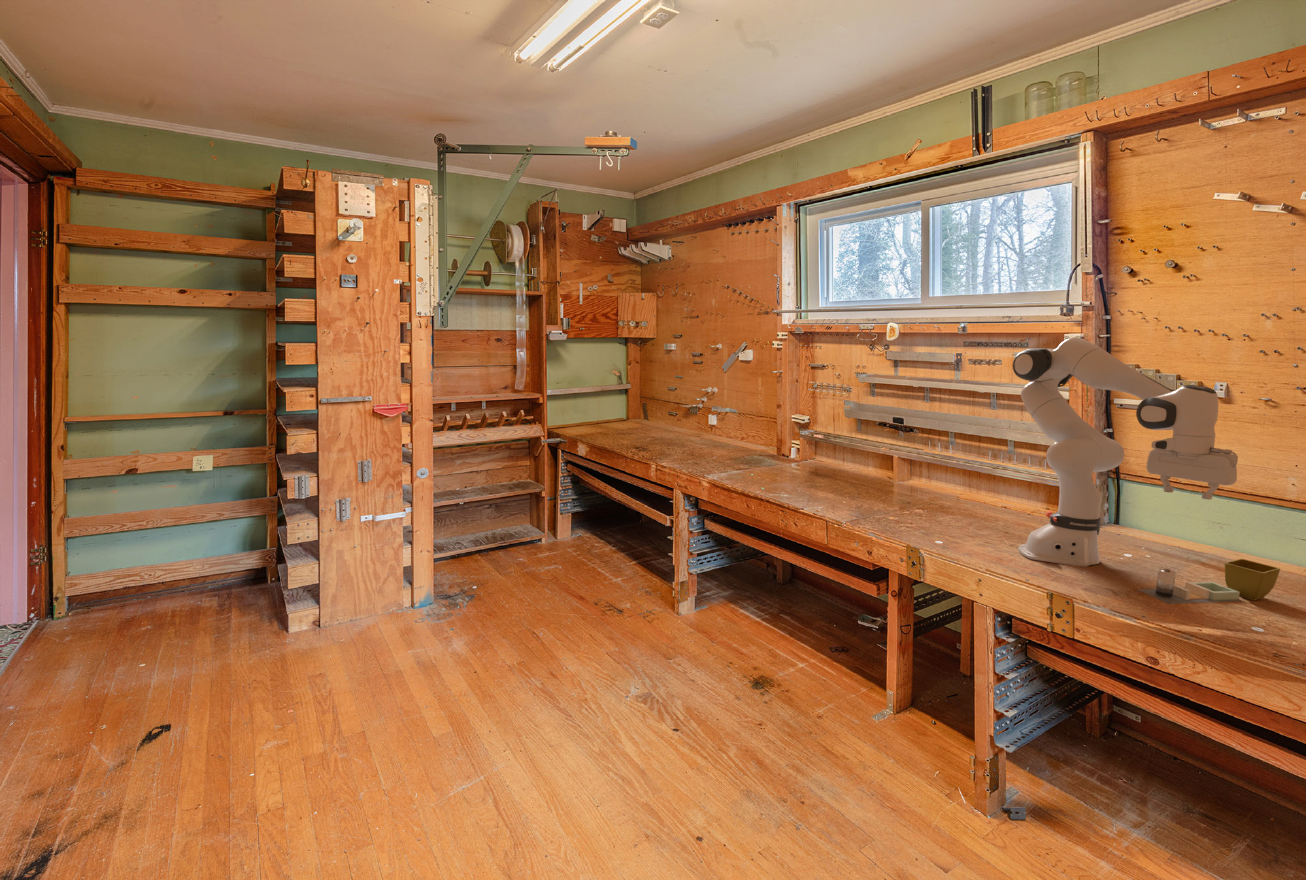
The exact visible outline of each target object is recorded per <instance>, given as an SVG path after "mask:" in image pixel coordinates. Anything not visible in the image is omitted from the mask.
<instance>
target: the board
mask: <svg viewBox="0 0 1306 880" xmlns="http://www.w3.org/2000/svg"><path fill="white" fill-rule="evenodd" d="M1136 591H1138V592H1141V593H1144V594H1145V595H1148V596H1149V597H1152V598H1153V599H1154V598H1155V599H1157V600H1158V601H1162V602H1163V603H1166V604H1167V605H1176V604H1177V605H1179V604H1203V603H1206V604H1207V603H1229V602H1231V603H1232V602H1234V603H1235V602H1243V600H1241V599H1240V598H1239V599H1232V600H1212V599H1189V600H1185V599H1183V598H1180V597H1178V596H1176V595H1173V596H1172V598H1170V599H1168V598H1162V597H1159V596H1156V595H1155V592H1156V588H1142V589H1141V588H1140V589H1139V588H1137V589H1136ZM1212 591H1213V590H1212Z"/></svg>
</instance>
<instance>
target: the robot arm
mask: <svg viewBox="0 0 1306 880" xmlns="http://www.w3.org/2000/svg"><path fill="white" fill-rule="evenodd" d="M1012 361H1013V362H1012V370H1013V373H1014V375H1015V376H1016V377H1018V378H1020V379H1022V380H1024V381H1028V383H1027V384H1026V385H1024V386H1023V388H1022V389H1021V391H1020V398H1021V401H1022V403H1023V405H1024V407H1025V409H1026V410H1027V411H1028V414H1029V415H1030V416H1031V419H1033V421H1034V422H1035V423H1036V425H1037V427H1039V429H1040V430H1041V432H1043V434H1044V435H1045V436H1046V437H1047V438H1048V439H1050V440H1052V441H1055V442H1054V443H1052V444H1050V446H1049V447H1048V448H1047V450H1046V454H1045V455H1046V457H1045V459H1046V462H1047V465H1048V466H1049V467H1050V469H1052V471H1054V473H1055V475H1056V477H1057V480H1058V486H1059V495H1058V496H1059V498H1058V509H1057V511H1056V512H1054V513H1053V512H1052V511H1050V510H1049V511H1048V510H1047V512H1046V513H1045V516H1046V517H1047V519H1049V523H1047V524H1045V525H1042V526H1041V527H1038V528H1037V529H1034V530H1032V531H1031V532H1030V533H1029V535H1028V538H1027V540H1026V543H1024V544H1023V543H1022V544H1020V545H1019V546H1018V548H1017V549H1018V552H1019V553H1020V554H1021V555H1022V556H1024V557H1025V558H1028V559H1030V560H1033V561H1039V562H1049V563H1054V564H1060V565H1061V564H1062V565H1068V566H1069V565H1070V566H1075V567H1088V566H1092V565H1093V566H1094V565H1098V564H1100V563H1101V558H1100V553H1099V539H1098V536H1099V534H1100V530H1101V517H1100V513H1101V505H1102V497H1103V496H1102V493H1101V490H1099V489H1098V488H1097V487H1096V486H1095V482H1094V479H1093V476H1094V475H1093V474H1094V473H1101V472H1107V471H1110V470H1112V469H1115V468H1118V467H1119V466H1120V465H1121V464H1122V463H1123V462H1124V459H1125V450H1124V448H1123V446H1122V445H1121V443H1120V442H1118V441H1116V440H1115V439H1112V438H1110V437H1107V435H1104V434H1103V433H1101V432H1100V431H1099V430H1097V429H1096V428H1095V427H1093V426H1092V425H1090V424H1089V423H1088V422H1086V421H1085V420H1084V419H1083V418H1082V417H1081V416H1080V415H1079V414H1078V413H1077V412H1076V411H1075V410H1074V408H1073V407H1072V406H1071V405H1070V403H1069V402H1068V401H1067V400H1066V399H1065V397H1064V396H1063V395H1062V394H1061V392H1060V391H1059V389H1058V388H1061V387H1064V386H1065V385H1066V384H1067V383H1068V381H1069V380H1071V379H1072V378H1075V379H1076V380H1078V381H1079V382H1081V383H1082V384H1084V385H1087V386H1088V387H1091V388H1093V389H1098V390H1106V391H1116V392H1121V393H1126V394H1130V395H1132V396H1135V397H1136V398H1138V399H1140V400H1141V402H1139V404H1138V405H1137V408H1136V412H1135V415H1136V420H1137V421H1138V423H1139V424H1140V426H1142V427H1143V428H1145V429H1148V430H1153V431H1170V430H1171V431H1172V436H1171V437H1169V438H1168V437H1167V438H1165V439H1159V440H1153V441H1152V442H1151V448H1152V449H1151V450H1150V451H1149V454H1148V456H1147V457H1148V458H1147V462H1146V470H1147V472H1148V473H1149V474H1152V475H1156V476H1157V475H1158V476H1160V477H1159V479H1160V482H1161V484H1162V485H1163V492H1164V493H1169V494H1170V493H1174V488H1175V487H1174V486H1173V485H1171V483H1170V480H1171V478H1175V479H1176V478H1177V479H1184V480H1190V481H1195V482H1202V483H1207V487H1208V489H1207V490H1206V491H1203V492H1201V494H1202V496H1201V499H1202V500H1209V501H1210V500H1213V494H1214V493H1215V491H1216V490H1218V489H1219V486H1220V485H1221V486H1232V485H1234V484H1235V483H1236V482H1237V479H1238V471H1237V470H1238V469H1237V464H1238V458H1239V457H1238V455H1237V454H1236V453H1235V451H1233V450H1232V449H1227V448H1225V449H1224V448H1217V447H1215V441H1216V432H1215V426H1216V423H1217V422H1218V417H1219V416H1218V415H1219V396H1218V393H1217V391H1216V390H1215V389H1213V388H1211V387H1209V386H1204V385H1197V384H1196V385H1195V384H1185V385H1181V386H1180V387H1179V388H1177V389H1175V390H1173V389H1171V388H1169V387H1167V386H1165V385H1164V384H1161V383H1160V382H1158V381H1156V380H1155V379H1152V378H1151V377H1149V376H1148V375H1146V374H1143V373H1141V372H1140V371H1138V370H1136V369H1134V368H1133V367H1131V366H1129V365H1128V364H1126V363H1124V362H1123V361H1121V360H1119V358H1117V357H1115V356H1114V355H1112V354H1110V353H1109V352H1108V351H1106V350H1105V349H1103V348H1101V347H1100V346H1098V345H1096V344H1095V343H1093V342H1090V341H1088V340H1085V339H1083V338H1080V337H1069V338H1067V339H1064V340H1063V341H1062V342H1061V343H1060V344H1059V345H1058V346H1057V347H1056V348H1047V347H1045V348H1039V347H1038V348H1037V347H1035V348H1028V349H1024V350H1021V351H1020V352H1018V353H1017V354H1016V355H1015V356H1014V358H1013V360H1012Z"/></svg>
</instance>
